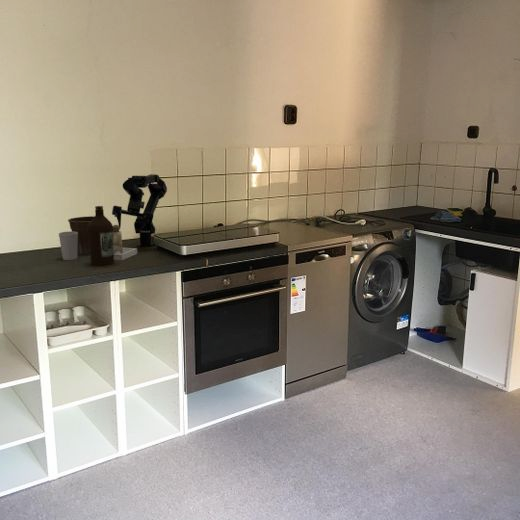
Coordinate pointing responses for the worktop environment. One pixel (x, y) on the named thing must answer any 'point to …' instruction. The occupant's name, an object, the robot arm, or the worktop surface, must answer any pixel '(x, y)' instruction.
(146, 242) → the robot arm
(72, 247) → the cup
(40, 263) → the worktop surface
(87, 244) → the plant pot
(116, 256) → the bin
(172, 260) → the worktop surface
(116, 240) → the pepper mill
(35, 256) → the worktop surface
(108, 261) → the olive oil
